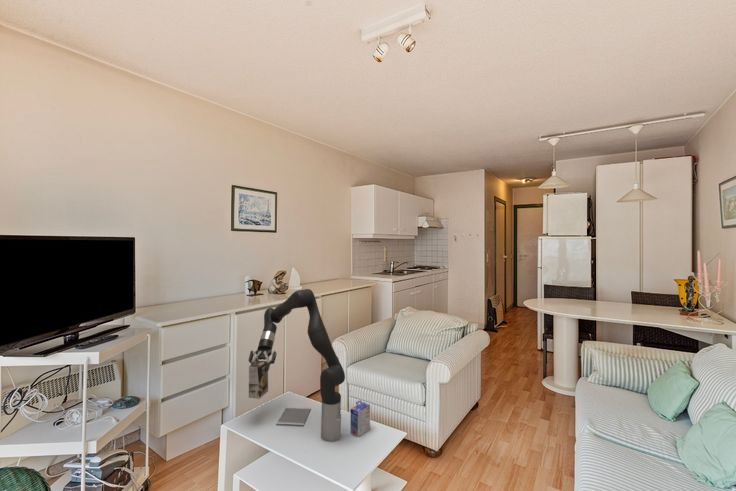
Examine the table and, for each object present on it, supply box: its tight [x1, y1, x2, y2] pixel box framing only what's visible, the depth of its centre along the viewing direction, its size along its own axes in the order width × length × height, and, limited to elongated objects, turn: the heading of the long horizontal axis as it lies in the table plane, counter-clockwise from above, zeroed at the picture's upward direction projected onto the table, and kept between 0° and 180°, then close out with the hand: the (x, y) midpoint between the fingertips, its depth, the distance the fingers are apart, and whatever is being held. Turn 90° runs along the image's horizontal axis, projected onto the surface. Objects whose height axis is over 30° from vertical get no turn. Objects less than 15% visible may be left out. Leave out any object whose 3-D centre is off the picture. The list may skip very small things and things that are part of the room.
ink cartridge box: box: [350, 399, 371, 438], centre depth 168 cm, size 10×6×14 cm, turn 142°
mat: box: [276, 406, 312, 427], centre depth 180 cm, size 14×18×1 cm
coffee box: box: [248, 360, 269, 400], centre depth 173 cm, size 9×6×16 cm
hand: (258, 370), depth 173 cm, fingers closed on coffee box, 7 cm apart
